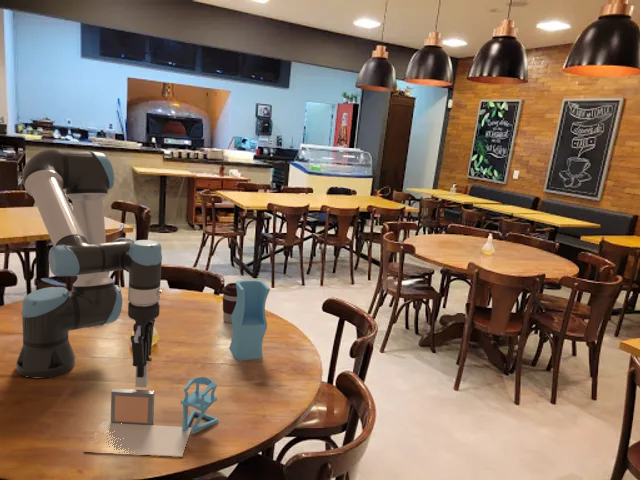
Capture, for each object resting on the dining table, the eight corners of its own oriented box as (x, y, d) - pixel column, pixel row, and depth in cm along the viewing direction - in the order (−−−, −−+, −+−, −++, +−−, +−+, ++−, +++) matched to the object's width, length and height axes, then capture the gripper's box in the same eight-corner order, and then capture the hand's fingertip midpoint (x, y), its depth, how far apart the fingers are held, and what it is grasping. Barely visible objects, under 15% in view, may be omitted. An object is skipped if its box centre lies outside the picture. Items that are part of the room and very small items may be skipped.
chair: (174, 427, 118) (178, 383, 116) (193, 413, 126) (197, 371, 124) (200, 437, 116) (204, 391, 114) (218, 421, 123) (223, 379, 122)
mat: (83, 452, 107) (83, 451, 107) (102, 423, 117) (102, 422, 117) (182, 457, 109) (182, 456, 109) (191, 428, 119) (191, 427, 119)
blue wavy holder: (235, 360, 157) (241, 289, 152) (229, 348, 166) (234, 280, 161) (264, 358, 161) (270, 288, 156) (256, 345, 170) (261, 279, 165)
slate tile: (110, 424, 118) (111, 391, 116) (112, 420, 119) (113, 388, 118) (151, 426, 119) (152, 394, 117) (153, 422, 120) (154, 390, 118)
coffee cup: (249, 321, 192) (252, 285, 189) (233, 327, 184) (235, 291, 180) (231, 314, 197) (234, 279, 194) (214, 320, 189) (217, 284, 185)
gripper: (152, 311, 114) (149, 400, 118) (165, 294, 126) (162, 374, 131) (120, 309, 113) (118, 398, 118) (137, 292, 126) (134, 372, 130)
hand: (141, 385), depth 124 cm, fingers closed
